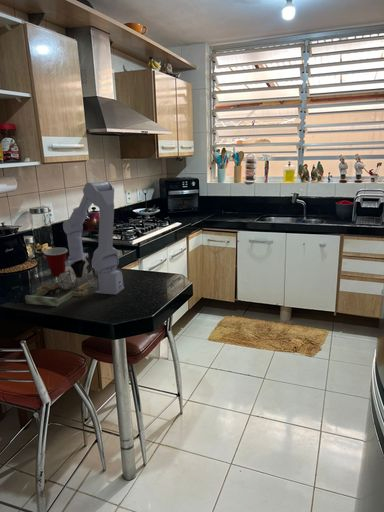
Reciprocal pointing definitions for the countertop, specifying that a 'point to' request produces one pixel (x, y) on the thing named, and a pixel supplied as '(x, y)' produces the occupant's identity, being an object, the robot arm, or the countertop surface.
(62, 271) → the plastic cup
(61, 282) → the game die
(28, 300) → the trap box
